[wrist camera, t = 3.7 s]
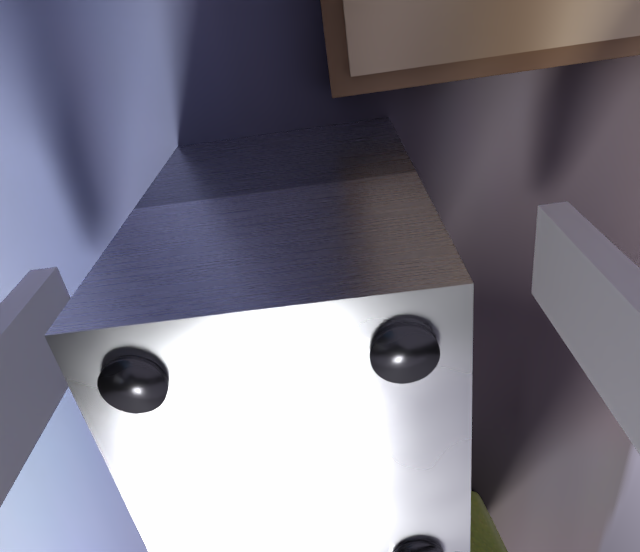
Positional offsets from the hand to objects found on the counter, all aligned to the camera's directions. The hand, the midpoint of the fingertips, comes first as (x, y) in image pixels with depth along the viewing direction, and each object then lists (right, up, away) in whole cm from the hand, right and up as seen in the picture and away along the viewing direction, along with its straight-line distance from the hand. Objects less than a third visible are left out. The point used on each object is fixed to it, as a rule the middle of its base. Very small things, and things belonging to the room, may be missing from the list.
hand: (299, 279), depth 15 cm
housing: (0, +1, +2) cm, 2 cm away
